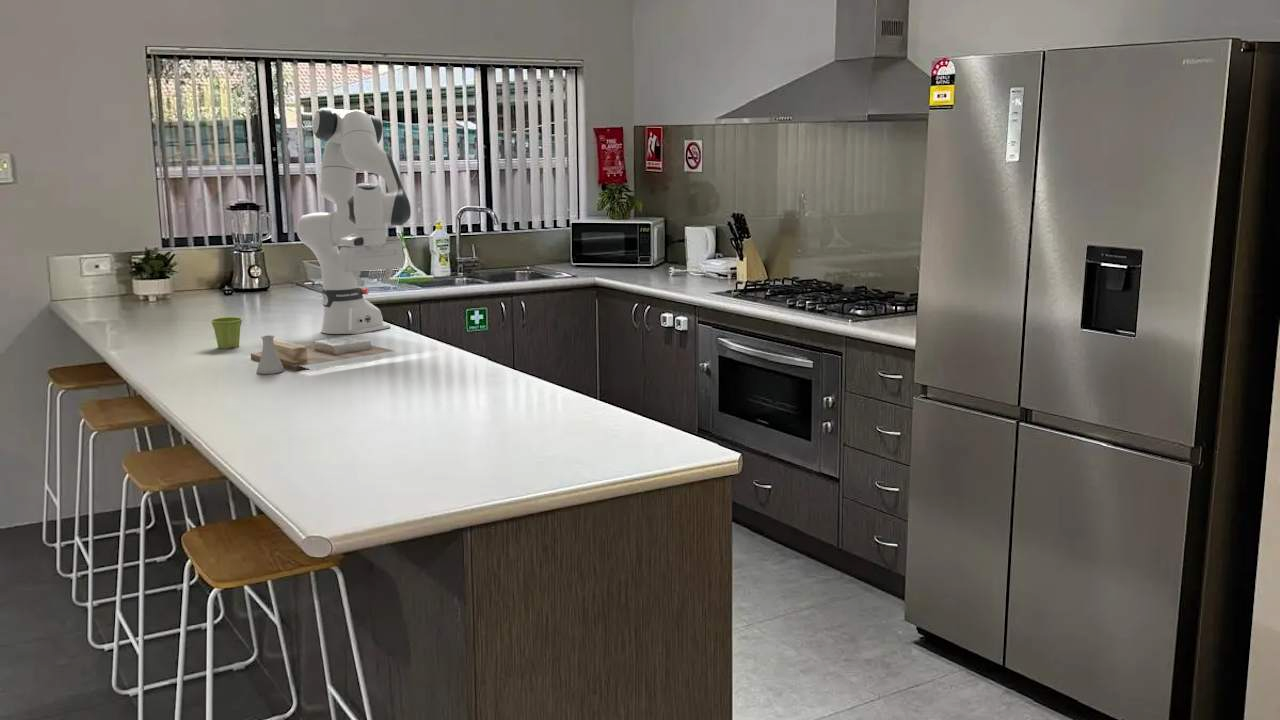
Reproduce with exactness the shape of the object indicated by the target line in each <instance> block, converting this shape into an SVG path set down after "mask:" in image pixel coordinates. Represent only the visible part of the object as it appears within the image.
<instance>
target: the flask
mask: <svg viewBox="0 0 1280 720" xmlns="http://www.w3.org/2000/svg"><path fill="white" fill-rule="evenodd" d="M260 337H261V340H262V351H261V352H262V354H261V358H260V361H258V362H259V363H258V366H257V369H256V371H255V372H256V374H259V375H260V374H263V375H273V374H278V373H282V372H284V371H285V370H286V369H285V368H284V367H283V365H282V363H281V361H280V359H279V357H278V355H277V352H276V350H275V347H274V343H273V340H274V338H275V336H274V335H271V334H269V335H263V336H260Z"/></svg>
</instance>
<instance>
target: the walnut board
mask: <svg viewBox="0 0 1280 720" xmlns="http://www.w3.org/2000/svg"><path fill="white" fill-rule="evenodd" d="M304 346H305V347H306V349H307V361H303V362H297V363H292V362H289V361H285V360H282V359H280V361H281V363H282V365H283V367H284V369H285V370H288V371H292V372H302V371H308V370H309V371H310V370H311V369H310V368H308V367H305V366H307V365H313V364H314V365H315V364H322V363H326V362H332V361H338V360H339V361H340V360H345V359H353V358H358V357H363V356H365V357H366V356H371V355H377V354H385V353H389V352H395V350H393V349H389V348H385V347H380V346H376V345H372V344H371V347H372V349H367V350H361V351H354V352H348V353H341V354H335V355H334V354H330V353H326V352H323V351H319V350H315V349H314V344H308V345H304ZM261 354H262V351H261V352H254V353H250V359H251V360H254V361H257V362H260V358H261Z"/></svg>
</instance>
